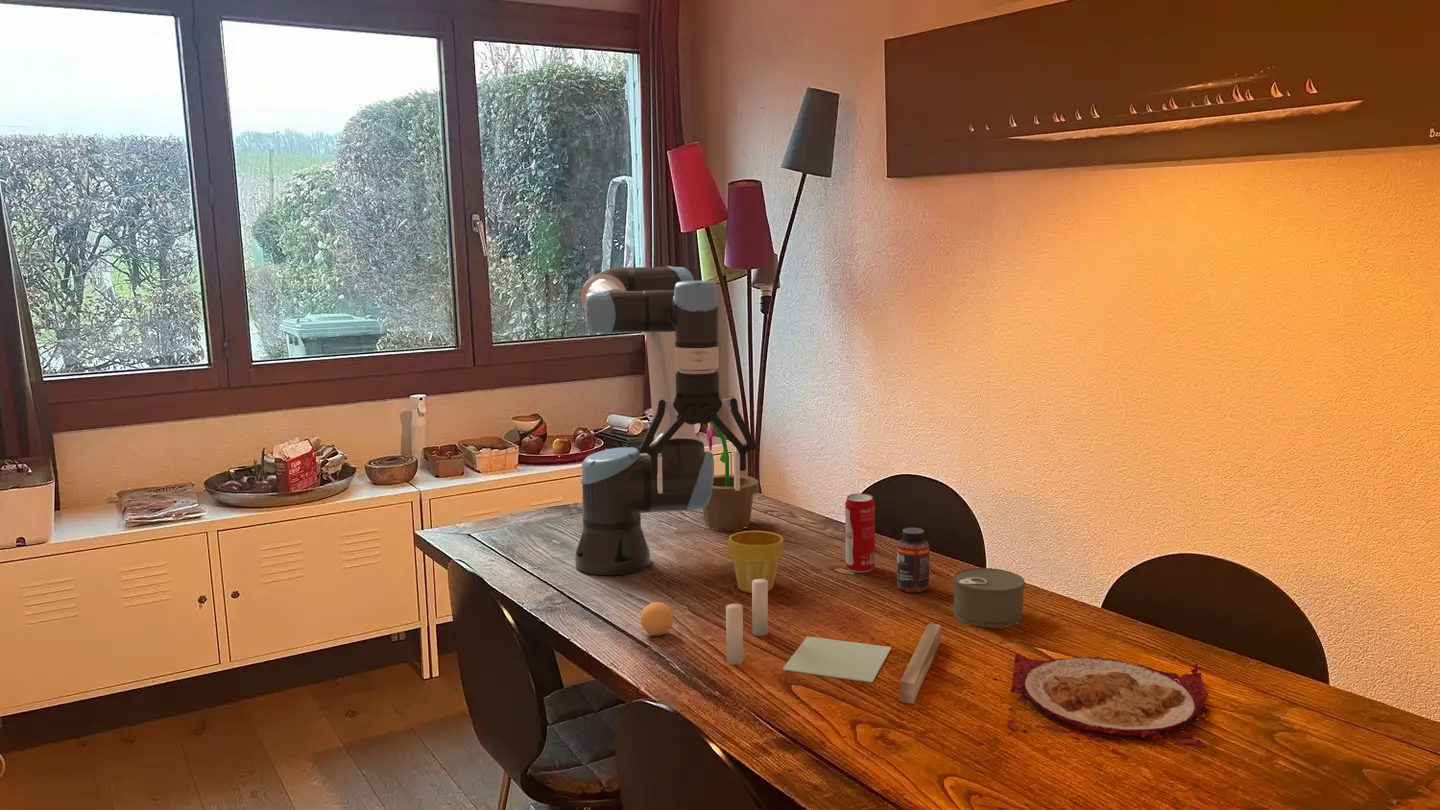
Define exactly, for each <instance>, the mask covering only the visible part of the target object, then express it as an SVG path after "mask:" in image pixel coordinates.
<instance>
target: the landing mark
mask: <svg viewBox="0 0 1440 810" xmlns="http://www.w3.org/2000/svg"><path fill="white" fill-rule="evenodd" d="M891 650H892V647H891V646H886V645H878V644H877V645H876V644H869V643H862V642H855V641H854V642H853V641H846V640H837V639H830V638H823V637H815V636H808V635H807V636H806V638H804V640H803V641H802V643H801V644H800V645H799V647H798V648H797V649H796V651H795V652H794V653H793V654H792V655H791V657H790V658H789V659H788V661H787V662H786V663H785V665H784V666H783V667H782V669H781V670H782V671H785V672H793V673H799V674H807V675H812V676H814V675H815V676H821V677H828V678H829V677H830V678H836V679H842V680H849V681H850V680H851V681H856V682H864V683H870V684H872V683H874V680H875V679H876V678H877V676H878V673H879V672H880V670H881V668H882V666H883V665H884V663H885V661H886V659H887V657H888V656H889V654H890V651H891Z"/></svg>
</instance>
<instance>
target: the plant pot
mask: <svg viewBox="0 0 1440 810" xmlns="http://www.w3.org/2000/svg"><path fill="white" fill-rule="evenodd" d="M727 544H728V548H727V549H728V555H729V557H730V558H731V559H732V564H733V569H734V574H735V579H736V583H737V584H736V585H737V588H738V589H739V590H740V591H742V592H744V593H749V594H752V581H753V580H755V579H765V580H767V581H768V592H769V591H772V590H773V588H774V585H775V579H776V576H777V571H778V566H779V563H780V562H779V561H780V559H781V558H782V557H783V554H784V538H783V536H782V535H780V534H778V533H775V532H772V531H766V530H745V531H744V530H743V531H739V532H735V533H731V534H730V535H729V537H728V543H727Z"/></svg>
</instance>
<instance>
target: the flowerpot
mask: <svg viewBox="0 0 1440 810" xmlns="http://www.w3.org/2000/svg"><path fill="white" fill-rule="evenodd" d="M707 425H708V426H707V427H706V437H707V438H706V439H707V442H708V449H709V452H712V447H713V438H714V429H715V430H716V432H717V435H718V436H719V437H720V440H721V444H722V448H723V451H722V453H721V455H720V458H719V461H720V462H722V463H724V474H717V475H716V474H714V479H713V488H712V494H711V499H710V502H709V504H708V505H707V506H706V507H705V508H703V509H702V511H703V518H704V524H705V525H707V526H708V527H709V528H714V529H718V530H736V529H742V530H744V529H743V528H744V527H747V526H749V527H750V525H749V524H750V523H751V518H752V517H751V515H752V510H753V501H754V495H755V494H757V493H758V491H759V480H758V479H756V478H755V477H753V476H748V475H742V474H740V491H736V490H735V488H734V474H730V455H729V454H730V453H729V450H728V444H727V441H726V440H727V439H726V436H725V435H724V434H723V433H722V432H721V430H720V429H719V428H718V427H717V426H716V425H715V424H714V423H713V422H712V421H711V422H709V423H707ZM708 527H707V528H708ZM709 528H708V529H709ZM736 531H737V530H736Z"/></svg>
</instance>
